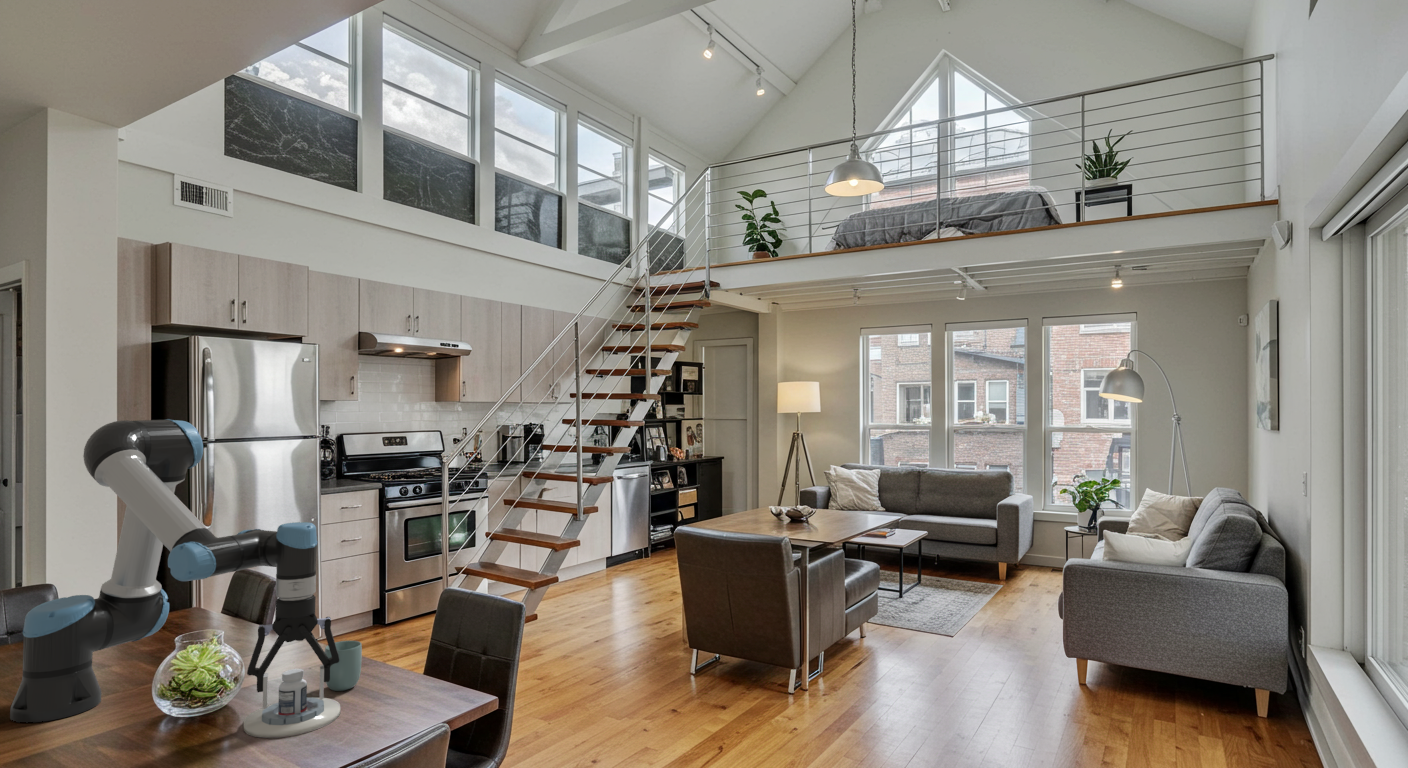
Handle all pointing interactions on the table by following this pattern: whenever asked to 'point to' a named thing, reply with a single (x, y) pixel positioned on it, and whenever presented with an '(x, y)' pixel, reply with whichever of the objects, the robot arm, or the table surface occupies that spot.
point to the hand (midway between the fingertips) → (293, 701)
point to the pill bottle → (292, 693)
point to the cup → (345, 665)
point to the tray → (291, 719)
